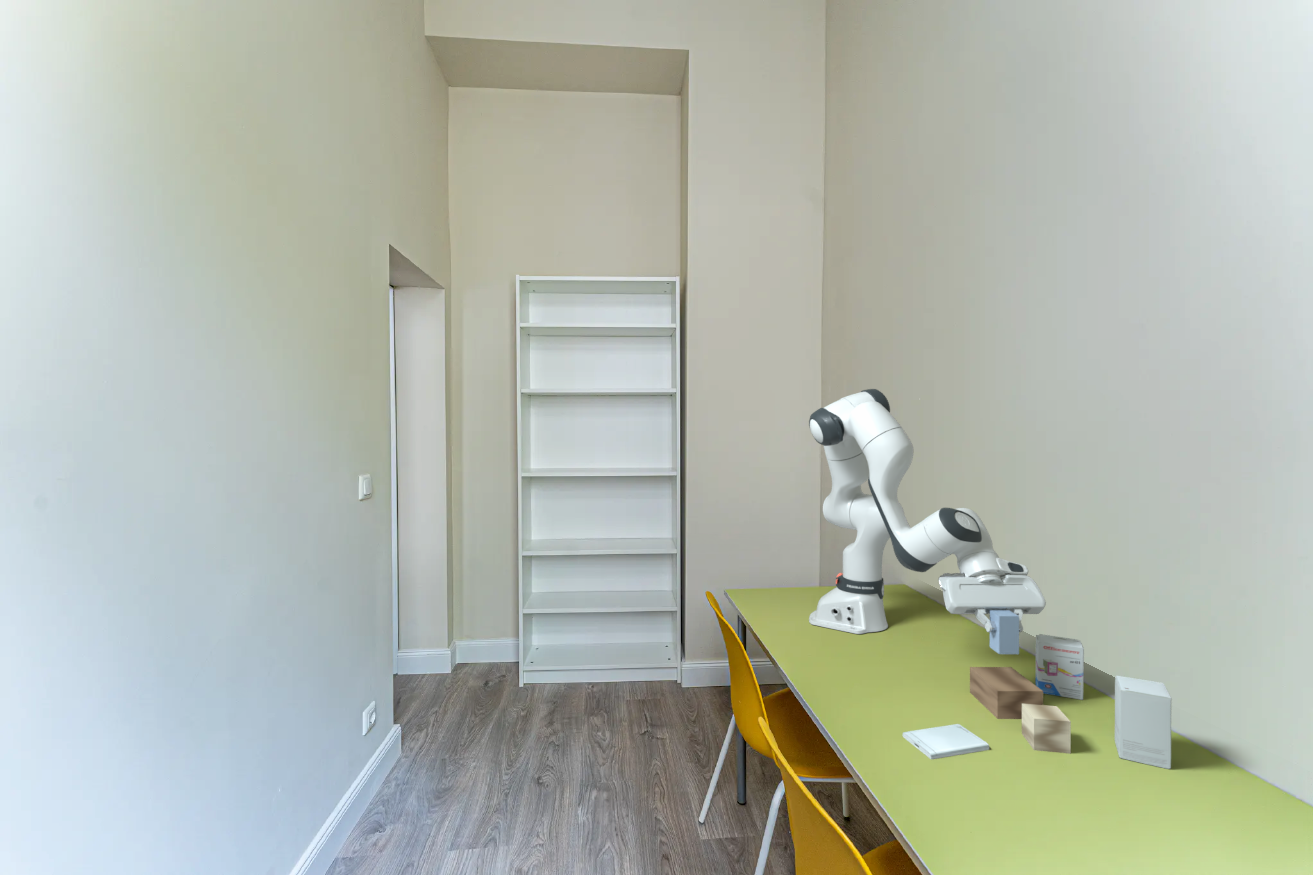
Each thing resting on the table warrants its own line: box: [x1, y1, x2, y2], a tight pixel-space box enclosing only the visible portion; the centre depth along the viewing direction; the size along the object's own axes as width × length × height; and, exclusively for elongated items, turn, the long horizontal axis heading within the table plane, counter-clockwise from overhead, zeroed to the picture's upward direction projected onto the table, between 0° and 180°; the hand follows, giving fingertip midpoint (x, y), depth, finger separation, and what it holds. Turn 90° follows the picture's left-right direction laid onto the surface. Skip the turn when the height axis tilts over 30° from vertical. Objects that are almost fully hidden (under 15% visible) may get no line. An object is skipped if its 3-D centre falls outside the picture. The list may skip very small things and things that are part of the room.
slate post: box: [989, 610, 1020, 655], centre depth 128 cm, size 4×4×8 cm
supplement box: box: [1114, 675, 1173, 770], centre depth 109 cm, size 7×7×13 cm
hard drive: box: [902, 723, 990, 760], centre depth 114 cm, size 2×8×12 cm
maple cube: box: [1021, 704, 1072, 754], centre depth 114 cm, size 6×6×6 cm
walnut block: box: [969, 666, 1044, 720], centre depth 129 cm, size 9×12×6 cm
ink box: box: [1034, 633, 1085, 701], centre depth 134 cm, size 9×5×12 cm, turn 62°
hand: (1005, 631), depth 128 cm, fingers closed on slate post, 4 cm apart
